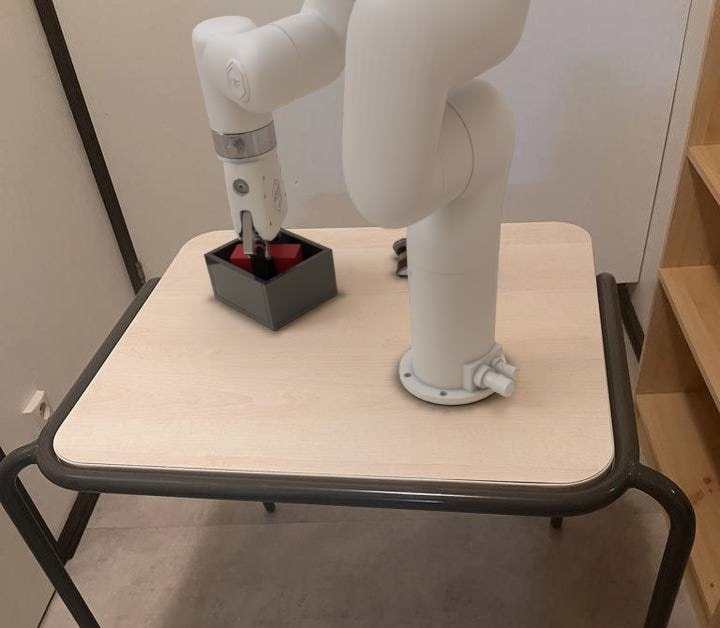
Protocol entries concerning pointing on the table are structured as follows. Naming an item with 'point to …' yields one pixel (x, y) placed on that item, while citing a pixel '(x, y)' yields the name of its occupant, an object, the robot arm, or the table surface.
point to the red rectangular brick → (282, 254)
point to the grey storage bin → (274, 283)
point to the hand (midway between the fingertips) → (270, 274)
